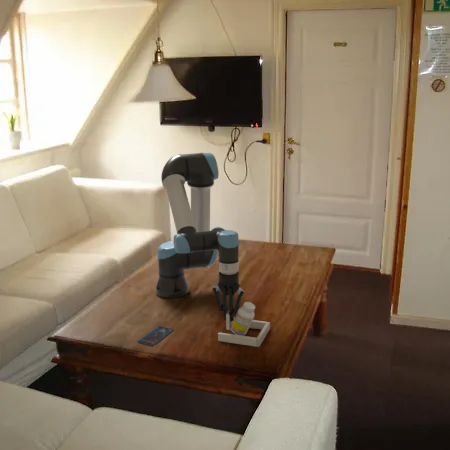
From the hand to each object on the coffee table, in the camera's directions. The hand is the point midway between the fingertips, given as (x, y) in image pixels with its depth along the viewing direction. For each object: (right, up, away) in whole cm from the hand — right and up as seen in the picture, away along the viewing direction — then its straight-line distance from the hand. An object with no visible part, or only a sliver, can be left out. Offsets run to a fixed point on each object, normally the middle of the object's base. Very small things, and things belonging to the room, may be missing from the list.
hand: (228, 328), depth 226 cm
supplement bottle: (+3, -1, -1) cm, 4 cm away
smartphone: (-28, -4, 0) cm, 29 cm away
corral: (+5, -2, -1) cm, 6 cm away
